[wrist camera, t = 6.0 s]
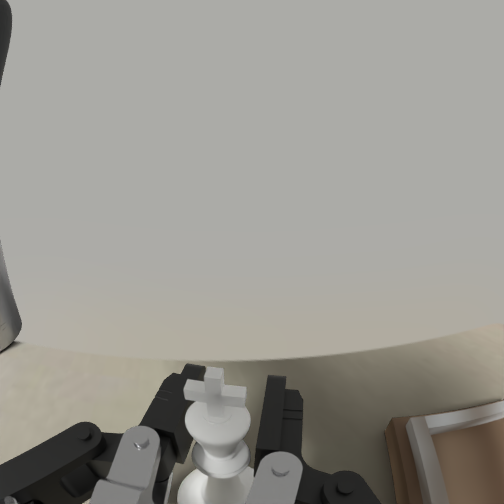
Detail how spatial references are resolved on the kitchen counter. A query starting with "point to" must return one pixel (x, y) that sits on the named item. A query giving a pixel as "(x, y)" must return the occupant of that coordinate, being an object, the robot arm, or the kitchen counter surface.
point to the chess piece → (217, 442)
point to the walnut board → (449, 456)
